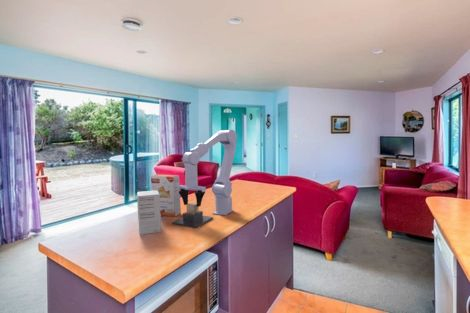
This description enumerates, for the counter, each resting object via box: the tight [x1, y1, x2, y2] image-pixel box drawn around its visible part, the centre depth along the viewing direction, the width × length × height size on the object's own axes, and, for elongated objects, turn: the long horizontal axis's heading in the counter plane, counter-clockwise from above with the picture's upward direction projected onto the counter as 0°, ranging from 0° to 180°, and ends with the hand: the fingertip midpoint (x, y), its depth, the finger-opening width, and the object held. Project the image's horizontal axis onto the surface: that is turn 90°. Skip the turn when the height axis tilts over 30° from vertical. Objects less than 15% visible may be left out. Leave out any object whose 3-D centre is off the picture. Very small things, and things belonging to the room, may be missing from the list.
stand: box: [171, 210, 214, 229], centre depth 127 cm, size 14×14×5 cm
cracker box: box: [150, 174, 182, 218], centre depth 139 cm, size 14×6×21 cm, turn 69°
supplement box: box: [136, 190, 162, 236], centre depth 117 cm, size 10×9×17 cm
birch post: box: [185, 202, 200, 214], centre depth 127 cm, size 4×4×7 cm
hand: (192, 205), depth 127 cm, fingers open, 7 cm apart
